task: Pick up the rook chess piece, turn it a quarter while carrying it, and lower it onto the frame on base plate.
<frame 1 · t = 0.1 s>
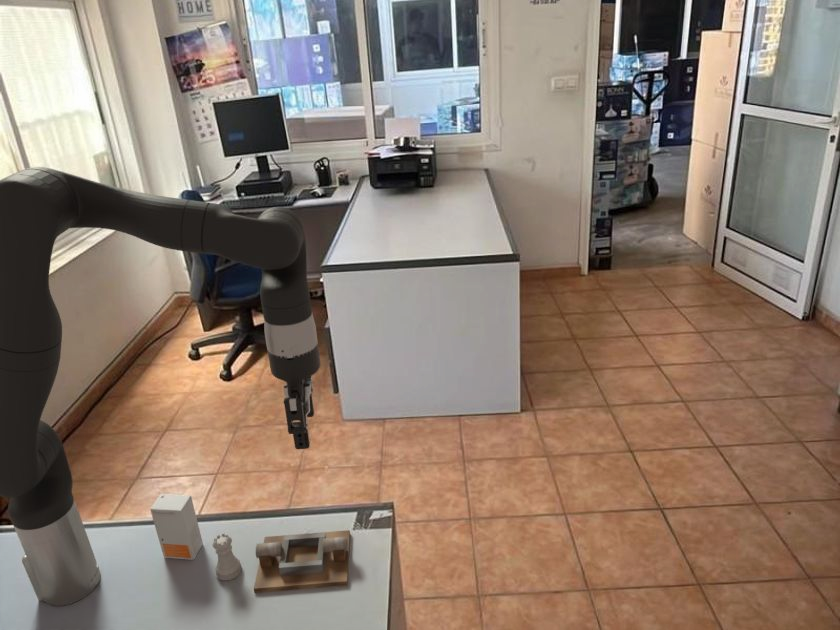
hand: (305, 431, 103), 29 cm above the table, fingers open, 8 cm apart
rook chess piece: (229, 572, 115), on the table
frame on base plate: (304, 562, 116), on the table
skincare box: (184, 552, 120), on the table
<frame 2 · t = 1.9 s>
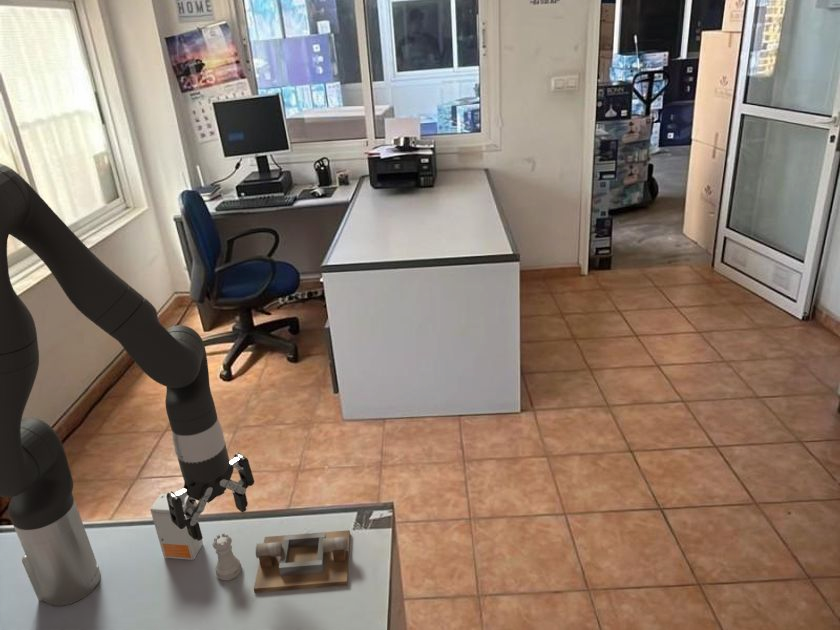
hand: (220, 523, 110), 12 cm above the table, fingers open, 8 cm apart
nothing on the table moved.
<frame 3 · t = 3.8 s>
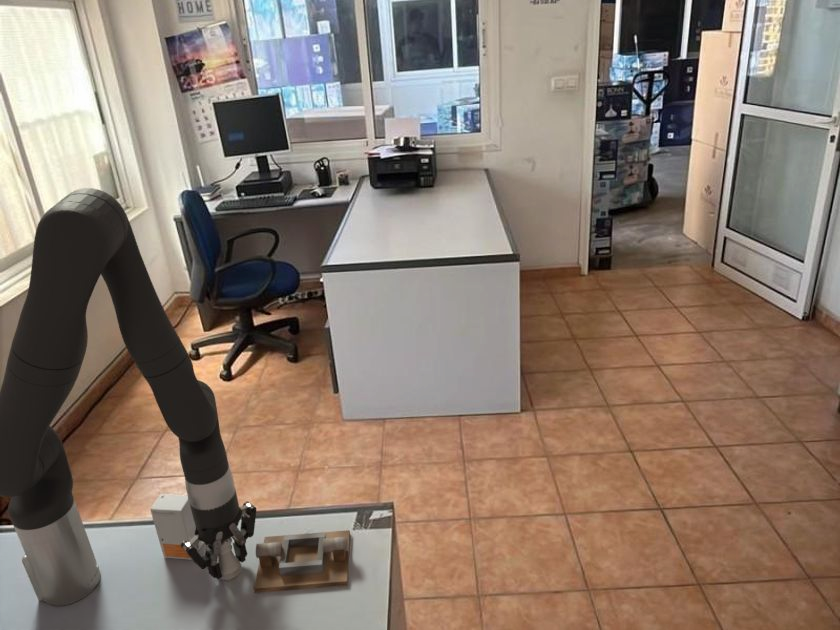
hand: (229, 567, 114), 1 cm above the table, fingers closed on rook chess piece, 4 cm apart
rook chess piece: (229, 572, 115), on the table, touching gripper
everything else where it was.
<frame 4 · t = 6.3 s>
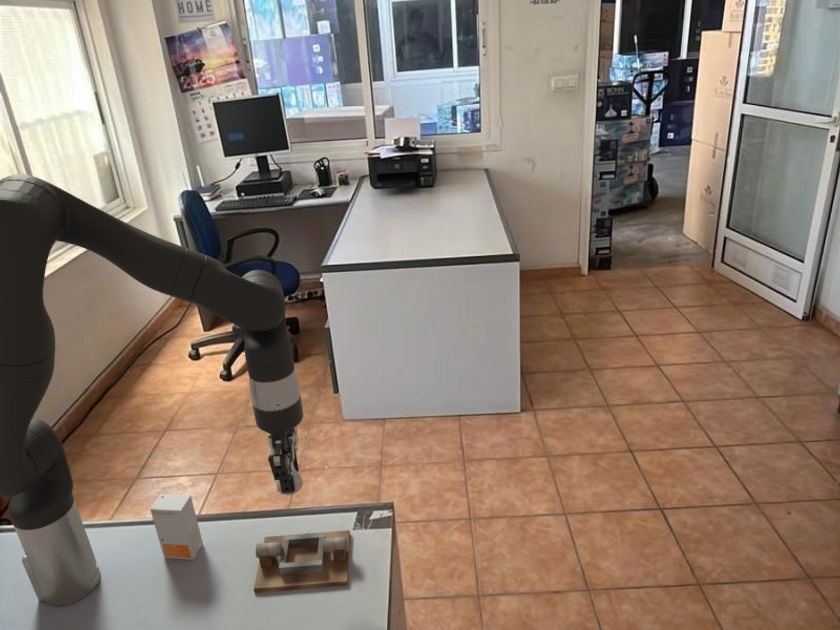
hand: (290, 481, 108), 19 cm above the table, fingers closed on rook chess piece, 4 cm apart
rook chess piece: (290, 488, 109), point 17 cm above the table, touching gripper
everything else where it was.
when the fingers open (4 cm above the table, at t = 8.9 s): rook chess piece drops 2 cm, resting on frame on base plate.
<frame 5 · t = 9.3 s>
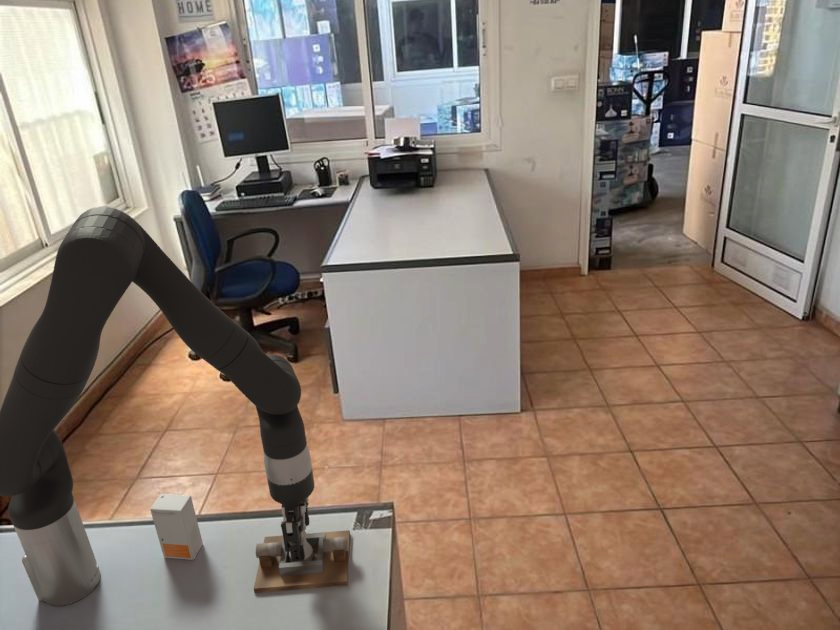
hand: (301, 541, 114), 5 cm above the table, fingers open, 8 cm apart
rook chess piece: (302, 559, 116), point 1 cm above the table, touching frame on base plate
everything else where it was.
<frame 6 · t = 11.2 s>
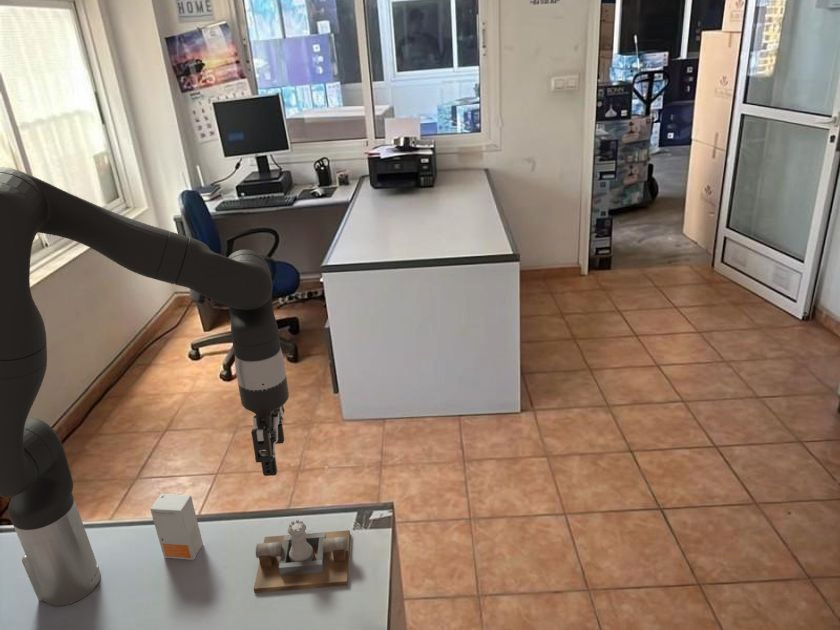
hand: (274, 457, 109), 22 cm above the table, fingers open, 8 cm apart
nothing on the table moved.
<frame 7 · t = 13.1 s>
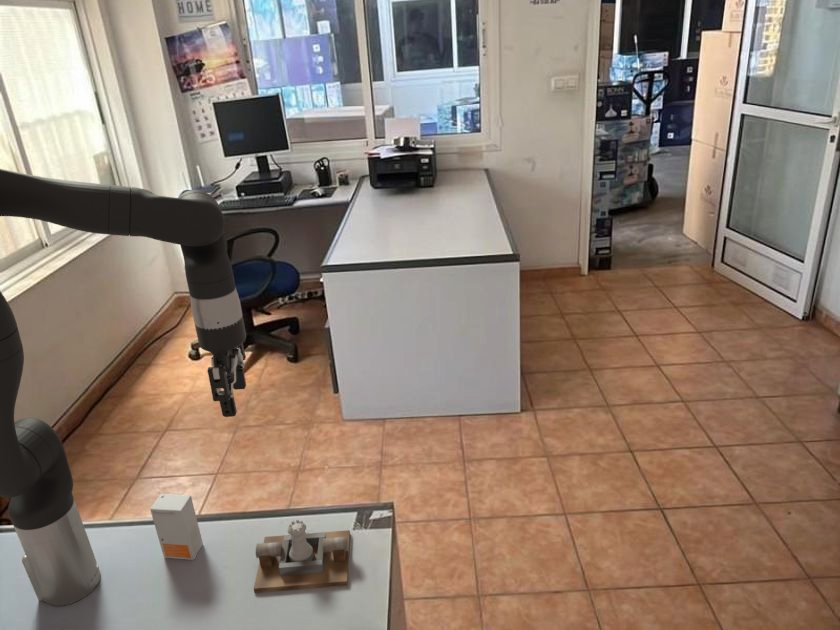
hand: (235, 401, 110), 30 cm above the table, fingers open, 8 cm apart
nothing on the table moved.
at the end: rook chess piece 0.4 cm off-centre on the frame on base plate, point 0.8 cm above the frame on base plate's base; rook chess piece tilted 0°; the gripper is holding nothing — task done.
